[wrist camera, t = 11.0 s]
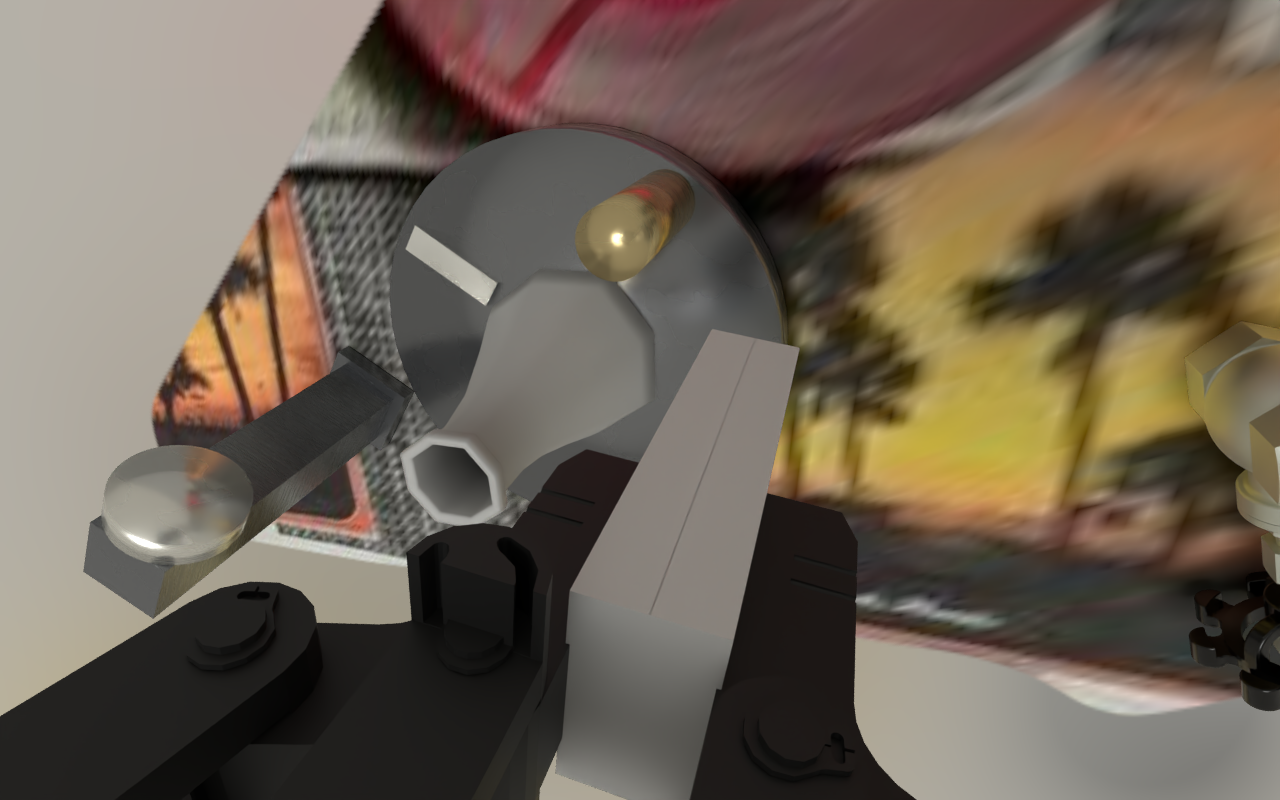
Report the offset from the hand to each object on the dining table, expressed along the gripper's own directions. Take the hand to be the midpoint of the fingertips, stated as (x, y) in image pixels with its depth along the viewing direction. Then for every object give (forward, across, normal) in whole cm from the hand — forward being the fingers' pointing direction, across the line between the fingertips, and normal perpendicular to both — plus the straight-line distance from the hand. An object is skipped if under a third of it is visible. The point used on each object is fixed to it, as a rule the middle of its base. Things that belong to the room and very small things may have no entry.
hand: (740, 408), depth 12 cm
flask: (+14, -8, -6) cm, 17 cm away
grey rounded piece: (+16, -8, -6) cm, 19 cm away
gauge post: (+16, -20, -13) cm, 29 cm away
